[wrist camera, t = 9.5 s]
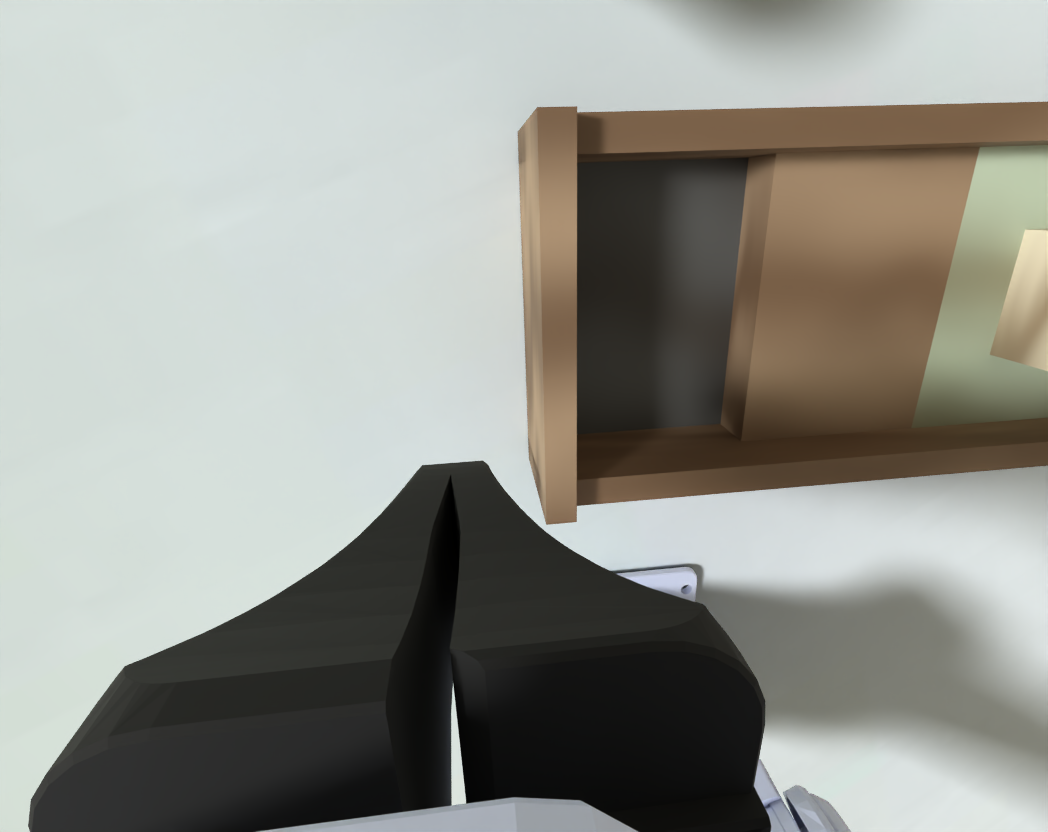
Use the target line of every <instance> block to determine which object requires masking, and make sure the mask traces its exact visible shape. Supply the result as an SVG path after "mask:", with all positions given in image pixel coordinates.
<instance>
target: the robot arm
mask: <svg viewBox="0 0 1048 832" xmlns="http://www.w3.org/2000/svg"><path fill="white" fill-rule="evenodd" d="M685 585H688V586H687V587H686V588H683V589H681V588H682V587H683V586H685ZM696 588H697V575H696V573H695V572H694V570H693V569H692V568H690V567H679V568H669V569H658V570H648V571H638V572H628V573H617V574H615V573H613V572H611V571H609V570H607V569H605V568H603V567H601V566H599V565H597V564H595V563H593V562H591V561H590V560H588V559H586V558H584V557H583V556H581V555H579V554H577V553H575V552H574V551H572V550H571V549H569V548H568V547H566V546H564V545H563V544H561V543H560V542H559V541H557V540H556V539H555V538H553V537H552V536H550V535H549V534H548V533H546V532H545V531H544V530H543V529H542V528H541V527H539V526H538V525H537V524H536V523H535V522H534V521H533V520H532V519H531V518H530V517H529V516H528V515H527V514H526V513H525V512H524V511H523V510H522V509H521V508H520V507H519V506H518V505H517V504H516V503H515V502H514V500H513V499H512V498H511V497H510V496H509V495H508V494H507V492H506V491H505V490H504V489H503V487H502V486H501V485H500V483H499V482H498V481H497V479H496V478H495V476H494V475H493V473H492V472H491V470H490V468H489V466H488V465H487V464H486V463H485V462H484V461H472V462H460V463H447V464H434V465H422V466H421V468H420V469H419V470H418V471H417V472H416V473H415V474H414V476H413V477H412V478H411V479H410V481H409V482H408V483H407V484H406V486H405V487H404V488H403V489H402V490H401V492H400V493H399V494H398V495H397V496H396V498H395V499H394V500H393V501H392V502H391V503H390V504H389V505H388V507H387V508H386V509H385V510H384V511H383V512H382V513H381V514H380V515H379V516H378V517H377V518H376V519H375V520H374V521H373V522H372V523H371V524H370V525H369V526H368V527H367V528H366V529H365V530H364V531H363V532H362V533H361V534H360V535H359V536H358V537H357V538H356V539H354V540H353V541H352V542H351V543H350V544H349V545H347V546H346V547H345V548H344V549H343V550H341V551H340V552H339V553H337V554H336V555H335V556H334V557H332V558H331V559H330V560H328V561H327V562H326V563H324V564H323V565H322V566H320V567H319V568H318V569H316V570H314V571H313V572H311V573H310V574H308V575H307V576H305V577H304V578H302V579H301V580H299V581H297V582H296V583H294V584H293V585H291V586H290V587H288V588H287V589H285V590H284V591H282V592H280V593H279V594H277V595H276V596H274V597H272V598H270V599H269V600H267V601H265V602H263V603H261V604H260V605H258V606H256V607H254V608H252V609H251V610H249V611H247V612H245V613H243V614H241V615H239V616H237V617H235V618H233V619H231V620H229V621H227V622H225V623H223V624H221V625H219V626H217V627H215V628H213V629H211V630H209V631H207V632H205V633H203V634H200V635H198V636H196V637H193V638H191V639H189V640H186V641H184V642H182V643H179V644H177V645H175V646H172V647H170V648H168V649H165V650H163V651H161V652H158V653H156V654H154V655H151V656H149V657H147V658H144V659H142V660H139V661H137V662H134V663H132V664H129V665H127V666H125V667H124V668H123V669H122V671H121V672H120V673H119V674H118V676H117V677H116V678H115V680H114V681H113V682H112V684H111V685H110V686H109V688H108V689H107V690H106V692H105V693H104V694H103V696H102V697H101V698H100V700H99V701H98V702H97V704H96V705H95V707H94V708H93V709H92V711H91V712H90V714H89V715H88V716H87V718H86V719H85V721H84V722H83V723H82V725H81V726H80V728H79V729H78V730H77V732H76V733H75V735H74V736H73V737H72V739H71V740H70V742H69V743H68V744H67V746H66V747H65V749H64V750H63V751H62V753H61V754H60V756H59V757H58V758H57V760H56V761H55V763H54V764H53V765H52V767H51V768H50V770H49V771H48V772H47V774H46V775H45V777H44V779H43V780H42V782H41V784H40V785H39V787H38V789H37V790H36V792H35V794H34V796H33V797H32V799H31V805H30V814H29V824H28V827H29V830H30V832H851V831H850V830H849V828H848V827H847V825H846V824H845V822H844V821H843V820H842V818H841V817H840V815H839V814H838V813H837V811H836V810H835V809H834V808H833V806H832V805H831V804H830V803H829V802H828V801H826V800H824V799H822V798H820V797H818V796H816V795H814V794H811V793H810V794H809V793H808V791H807V790H806V789H805V788H803V787H801V786H799V785H795V786H794V787H792V788H790V789H788V790H786V791H785V792H783V794H784V796H785V799H786V802H787V804H788V807H789V809H790V811H791V813H792V815H793V817H792V815H791V814H790V812H789V810H788V809H787V807H786V806H785V804H784V802H783V800H782V799H781V796H780V794H779V793H778V791H777V789H776V787H775V785H774V783H773V781H772V780H771V778H770V776H769V774H768V772H767V770H766V768H765V767H764V765H763V763H762V761H761V760H760V759H759V755H760V749H761V744H762V738H763V733H764V727H765V699H764V697H763V694H762V691H761V689H760V686H759V684H758V681H757V679H756V677H755V676H754V674H753V672H752V671H751V669H750V668H749V666H748V664H747V663H746V661H745V660H744V658H743V656H742V655H741V653H740V652H739V650H738V649H737V647H736V646H735V645H734V643H733V642H732V640H731V639H730V638H729V636H728V635H727V633H726V632H725V631H724V630H723V628H722V627H721V626H720V625H719V624H718V622H717V621H716V620H715V619H714V618H713V616H712V615H711V614H710V612H709V611H708V610H707V608H706V607H705V606H704V605H703V604H700V603H697V602H695V598H696ZM453 684H454V693H455V702H456V711H457V720H458V729H459V739H460V748H461V757H462V766H463V775H464V784H465V794H466V804H460V805H453V806H451V705H452V687H453ZM793 818H794V819H793Z"/></svg>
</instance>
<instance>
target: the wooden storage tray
mask: <svg viewBox="0 0 1048 832" xmlns="http://www.w3.org/2000/svg"><path fill="white" fill-rule="evenodd" d="M518 152H519V181H520V210H521V240H522V269H523V298H524V328H525V357H526V386H527V415H528V445H529V460H530V464H531V468H532V472H533V476H534V479H535V483H536V487H537V491H538V494H539V498H540V502H541V506H542V510H543V513H544V517H545V521H546V525H547V524H558V523H570V522H577V506H580V505H591V504H603V503H615V502H626V501H638V500H650V499H661V498H673V497H685V496H696V495H708V494H720V493H731V492H743V491H755V490H766V489H778V488H790V487H801V486H813V485H825V484H836V483H848V482H860V481H871V480H883V479H895V478H906V477H918V476H930V475H941V474H953V473H965V472H976V471H988V470H1000V469H1011V468H1023V467H1034V466H1046V465H1048V371H1045V370H1042V369H1038V368H1035V367H1031V366H1028V365H1024V364H1021V363H1017V362H1014V361H1010V360H1007V359H1003V358H1000V357H996V356H993V355H990V351H991V348H992V344H993V341H994V337H995V334H996V330H997V327H998V323H999V320H1000V316H1001V313H1002V309H1003V306H1004V302H1005V299H1006V295H1007V292H1008V288H1009V285H1010V281H1011V278H1012V274H1013V271H1014V267H1015V264H1016V260H1017V257H1018V253H1019V250H1020V246H1021V243H1022V239H1023V236H1024V232H1025V230H1026V229H1048V102H1018V103H974V104H930V105H886V106H843V107H799V108H755V109H712V110H668V111H624V112H580V113H577V107H537V108H536V110H535V111H534V112H533V113H532V115H531V116H530V117H529V118H528V120H527V121H526V122H525V123H524V125H523V126H522V127H521V129H520V130H519V131H518Z"/></svg>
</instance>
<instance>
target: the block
mask: <svg viewBox="0 0 1048 832" xmlns="http://www.w3.org/2000/svg"><path fill="white" fill-rule="evenodd" d="M990 355H993V356H996V357H1000V358H1003V359H1007V360H1010V361H1014V362H1017V363H1021V364H1024V365H1028V366H1031V367H1035V368H1038V369H1042V370H1045V371H1048V229H1026V230H1025V232H1024V236H1023V239H1022V243H1021V246H1020V250H1019V253H1018V257H1017V260H1016V264H1015V267H1014V271H1013V274H1012V278H1011V281H1010V285H1009V288H1008V292H1007V295H1006V299H1005V302H1004V306H1003V309H1002V313H1001V316H1000V320H999V323H998V327H997V330H996V334H995V337H994V341H993V344H992V348H991V351H990Z"/></svg>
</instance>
